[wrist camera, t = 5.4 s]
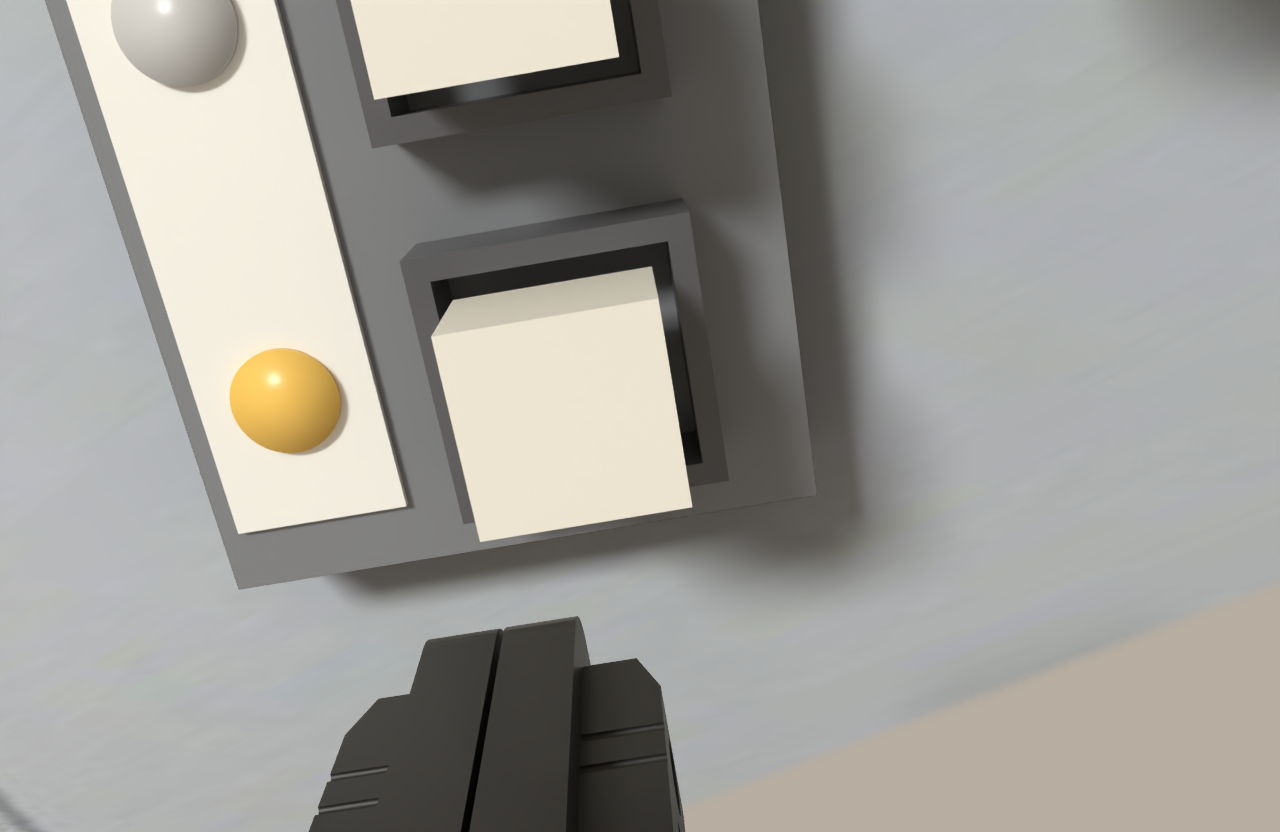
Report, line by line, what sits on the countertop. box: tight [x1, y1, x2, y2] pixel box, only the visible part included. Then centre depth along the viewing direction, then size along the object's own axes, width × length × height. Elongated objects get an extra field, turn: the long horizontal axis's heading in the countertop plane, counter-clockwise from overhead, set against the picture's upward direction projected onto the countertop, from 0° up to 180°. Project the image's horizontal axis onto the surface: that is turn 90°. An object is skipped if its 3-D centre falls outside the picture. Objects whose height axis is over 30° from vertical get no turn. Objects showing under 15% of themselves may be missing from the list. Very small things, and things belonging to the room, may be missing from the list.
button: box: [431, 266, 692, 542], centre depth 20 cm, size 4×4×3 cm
